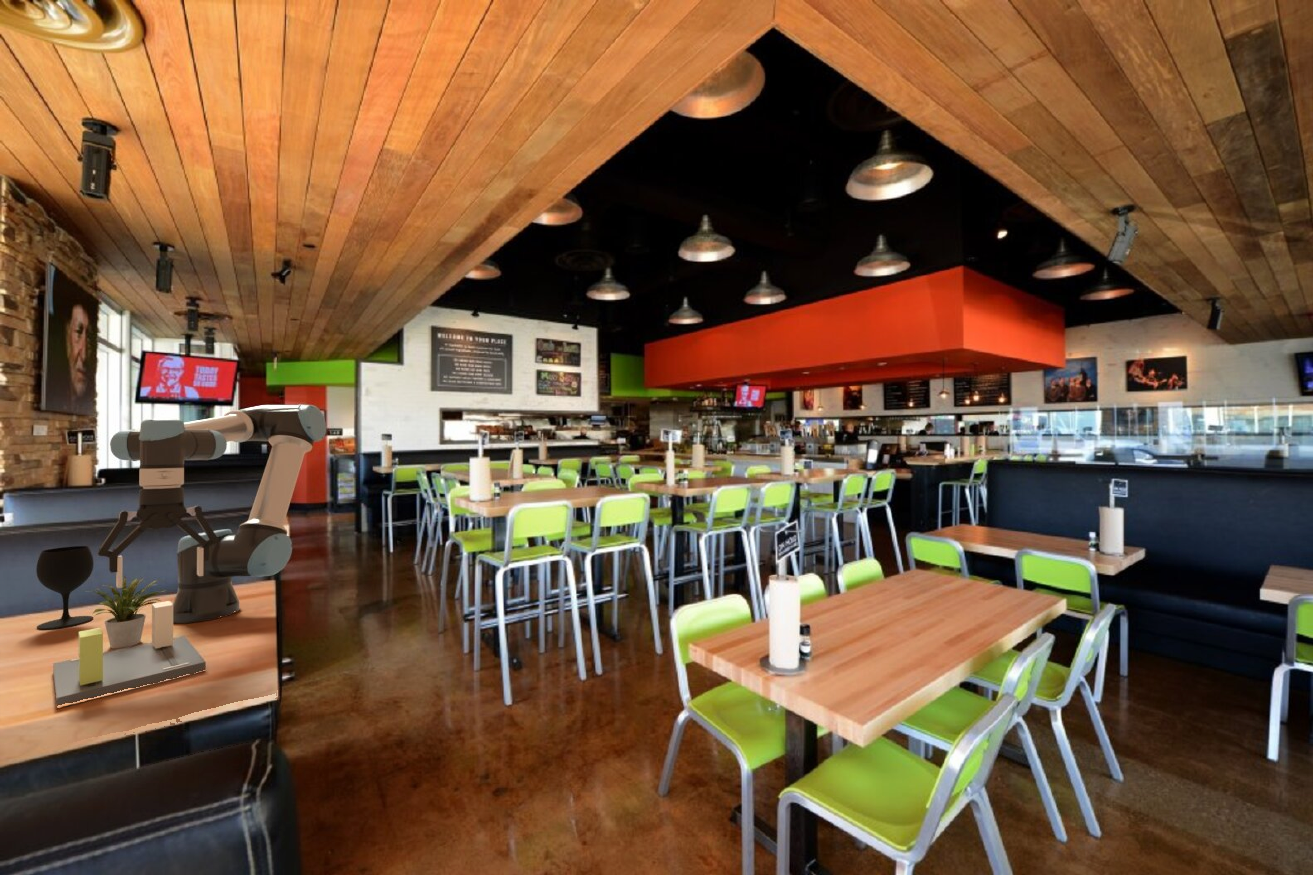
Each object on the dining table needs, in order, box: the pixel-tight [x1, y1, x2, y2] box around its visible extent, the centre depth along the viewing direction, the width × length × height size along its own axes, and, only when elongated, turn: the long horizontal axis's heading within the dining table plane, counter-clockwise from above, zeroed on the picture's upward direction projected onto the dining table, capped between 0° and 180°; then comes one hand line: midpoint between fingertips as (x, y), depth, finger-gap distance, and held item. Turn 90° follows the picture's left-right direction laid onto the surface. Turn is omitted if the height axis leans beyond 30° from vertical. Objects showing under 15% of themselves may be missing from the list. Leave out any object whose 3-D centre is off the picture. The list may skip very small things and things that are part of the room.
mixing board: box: [52, 635, 207, 707], centre depth 114 cm, size 21×24×2 cm
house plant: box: [84, 575, 169, 649], centre depth 129 cm, size 14×14×16 cm
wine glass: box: [35, 545, 95, 631], centre depth 146 cm, size 10×10×20 cm
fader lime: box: [78, 627, 104, 685], centre depth 105 cm, size 3×5×9 cm, turn 49°
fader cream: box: [151, 600, 174, 649], centre depth 123 cm, size 3×5×9 cm, turn 49°
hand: (161, 580), depth 123 cm, fingers open, 13 cm apart
